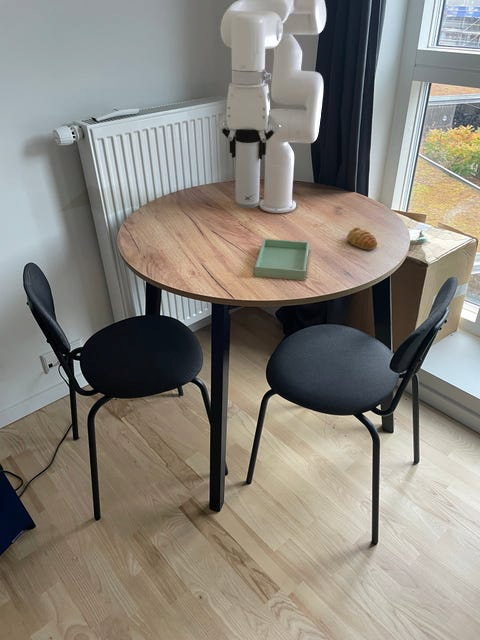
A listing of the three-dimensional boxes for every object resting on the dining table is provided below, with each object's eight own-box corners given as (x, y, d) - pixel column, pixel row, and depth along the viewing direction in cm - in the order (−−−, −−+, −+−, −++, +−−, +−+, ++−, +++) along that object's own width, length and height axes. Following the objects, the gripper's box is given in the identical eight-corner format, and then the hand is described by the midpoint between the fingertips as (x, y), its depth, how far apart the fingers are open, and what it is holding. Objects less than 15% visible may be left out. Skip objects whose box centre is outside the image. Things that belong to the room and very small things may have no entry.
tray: (263, 247, 143) (263, 238, 141) (308, 250, 141) (309, 241, 140) (254, 276, 129) (254, 266, 128) (304, 280, 127) (305, 271, 126)
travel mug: (252, 210, 125) (253, 130, 114) (230, 205, 128) (230, 126, 117) (264, 203, 130) (267, 124, 118) (243, 197, 133) (244, 120, 121)
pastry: (382, 247, 142) (384, 235, 140) (365, 253, 140) (367, 241, 137) (360, 235, 149) (362, 224, 147) (343, 241, 146) (345, 229, 144)
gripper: (287, 76, 113) (284, 154, 123) (215, 74, 116) (217, 150, 126) (283, 82, 107) (280, 163, 117) (207, 79, 110) (210, 159, 120)
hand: (247, 156), depth 122 cm, fingers closed on travel mug, 6 cm apart
